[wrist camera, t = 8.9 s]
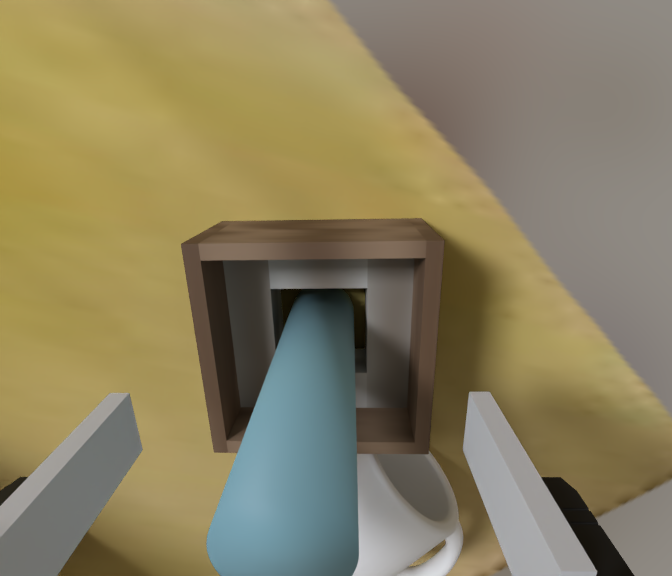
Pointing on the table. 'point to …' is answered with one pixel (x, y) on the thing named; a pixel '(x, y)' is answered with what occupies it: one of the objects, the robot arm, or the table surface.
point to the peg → (297, 455)
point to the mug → (405, 516)
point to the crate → (316, 273)
